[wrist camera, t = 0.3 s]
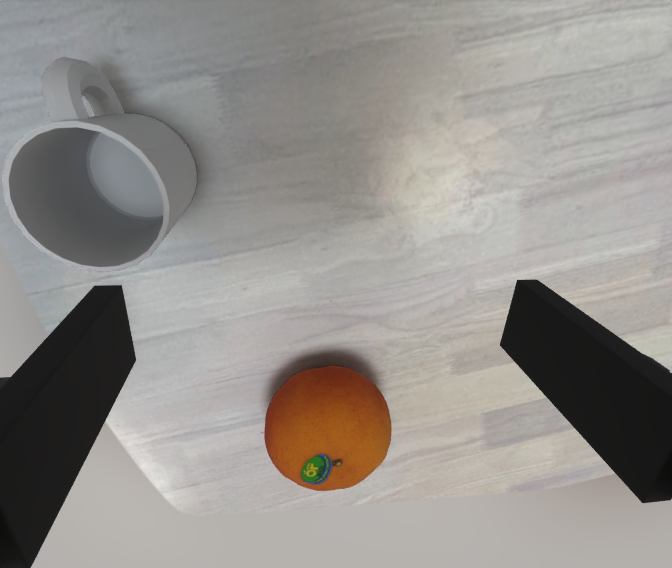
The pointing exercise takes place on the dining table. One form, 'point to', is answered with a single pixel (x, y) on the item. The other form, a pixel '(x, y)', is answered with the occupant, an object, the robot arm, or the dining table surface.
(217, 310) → the dining table surface
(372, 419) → the fruit
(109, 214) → the cup
